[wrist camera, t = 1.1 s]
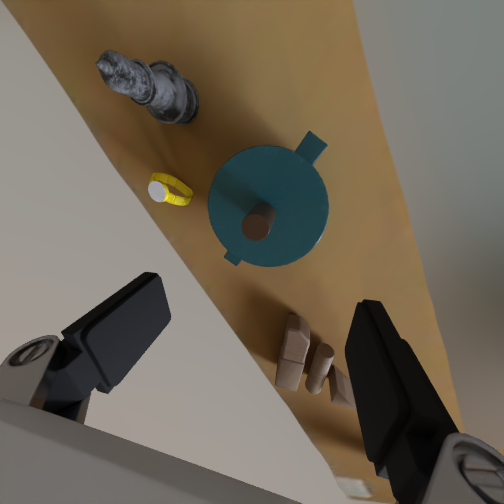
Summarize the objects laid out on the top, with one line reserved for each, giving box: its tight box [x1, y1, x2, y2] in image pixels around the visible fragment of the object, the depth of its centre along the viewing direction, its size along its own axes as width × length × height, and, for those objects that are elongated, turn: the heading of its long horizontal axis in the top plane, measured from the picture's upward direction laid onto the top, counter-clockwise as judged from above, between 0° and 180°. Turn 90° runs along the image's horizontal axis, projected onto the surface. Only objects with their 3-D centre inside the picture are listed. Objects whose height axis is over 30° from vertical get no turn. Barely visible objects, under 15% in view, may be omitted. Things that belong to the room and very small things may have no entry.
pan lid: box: [208, 145, 329, 267], centre depth 21 cm, size 14×14×6 cm
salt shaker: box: [96, 50, 199, 125], centre depth 20 cm, size 6×6×12 cm
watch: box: [148, 172, 193, 206], centre depth 28 cm, size 6×3×6 cm, turn 56°
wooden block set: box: [275, 314, 357, 410], centre depth 37 cm, size 17×6×18 cm
